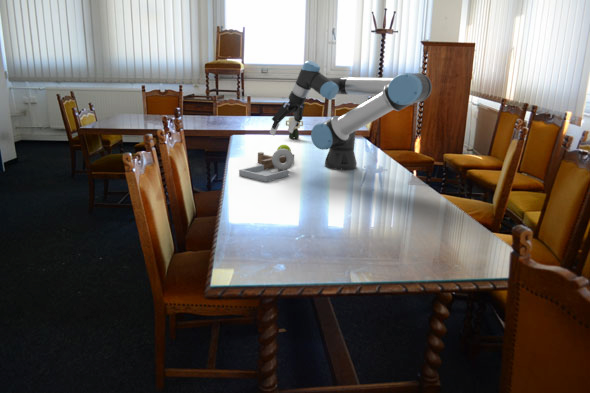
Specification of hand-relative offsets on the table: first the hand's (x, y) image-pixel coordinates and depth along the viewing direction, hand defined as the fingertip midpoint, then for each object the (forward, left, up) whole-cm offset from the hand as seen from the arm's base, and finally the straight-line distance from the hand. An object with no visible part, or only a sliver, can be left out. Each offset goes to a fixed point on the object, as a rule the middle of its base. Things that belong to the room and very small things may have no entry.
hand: (281, 132), depth 229 cm
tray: (-12, +26, -14) cm, 32 cm away
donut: (-12, +13, -15) cm, 23 cm away
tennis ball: (+4, -8, -15) cm, 17 cm away
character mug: (+37, -60, -15) cm, 72 cm away
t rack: (+1, +7, -14) cm, 16 cm away
